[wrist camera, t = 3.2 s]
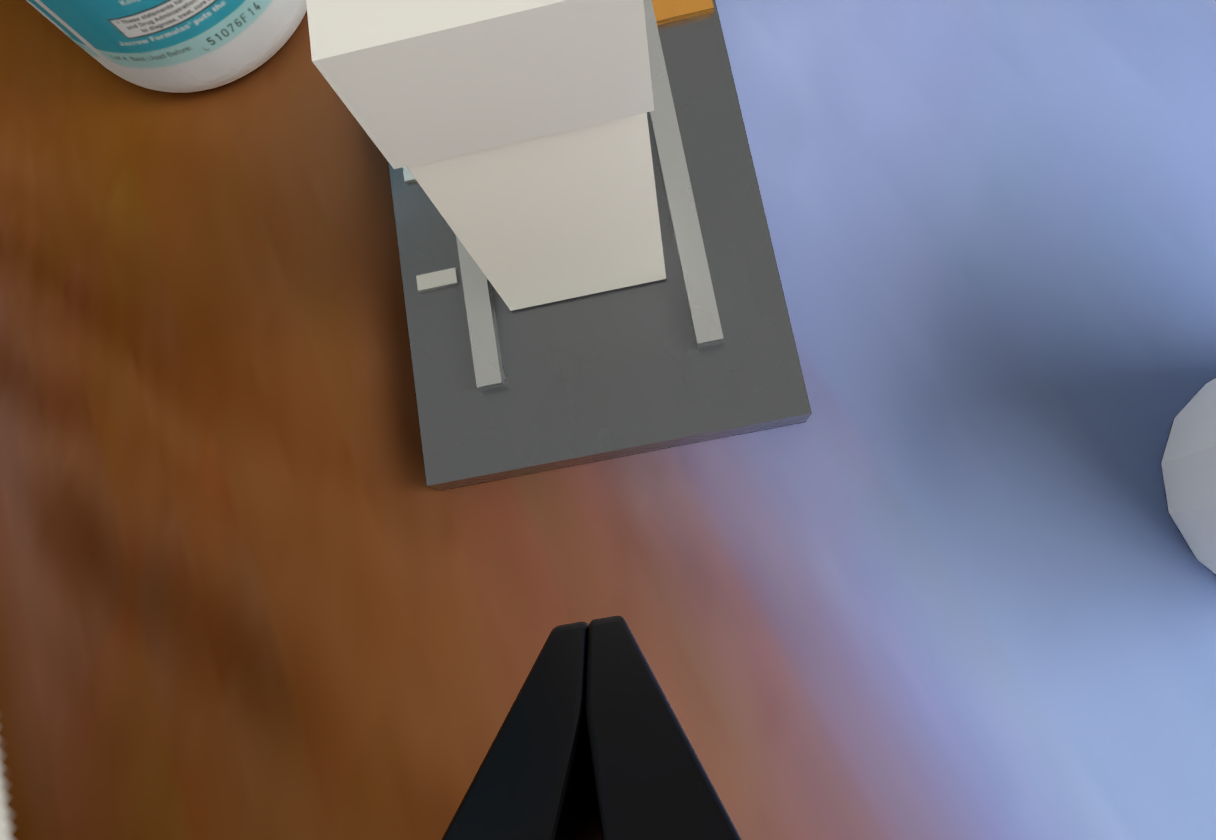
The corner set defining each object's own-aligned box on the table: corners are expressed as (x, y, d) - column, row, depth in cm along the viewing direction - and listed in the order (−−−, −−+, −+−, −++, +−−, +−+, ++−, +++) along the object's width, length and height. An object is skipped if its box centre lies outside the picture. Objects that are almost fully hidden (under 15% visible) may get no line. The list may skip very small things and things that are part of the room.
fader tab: (672, 285, 18) (641, -18, 9) (507, 319, 18) (312, 61, 9) (650, 179, 19) (601, -209, 9) (491, 214, 19) (293, -129, 10)
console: (805, 422, 18) (813, 409, 17) (441, 490, 19) (420, 483, 18) (692, -66, 21) (692, -110, 20) (382, 9, 22) (360, -28, 20)
